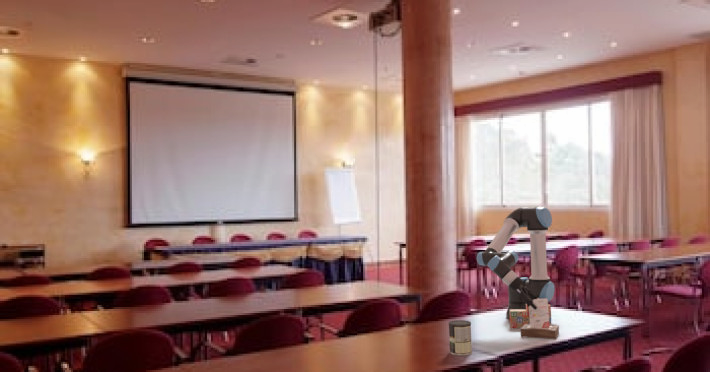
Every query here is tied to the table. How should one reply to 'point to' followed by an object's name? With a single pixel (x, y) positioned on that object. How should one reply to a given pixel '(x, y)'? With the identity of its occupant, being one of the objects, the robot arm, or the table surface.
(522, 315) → the stack of blocks
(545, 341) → the table surface
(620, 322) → the table surface
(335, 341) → the table surface
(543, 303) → the ink cartridge box
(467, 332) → the coffee can
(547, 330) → the walnut plinth
